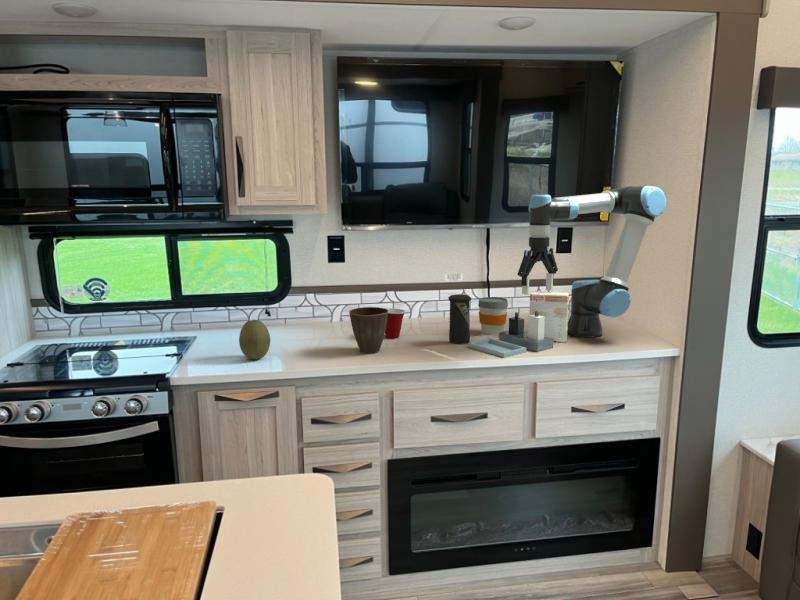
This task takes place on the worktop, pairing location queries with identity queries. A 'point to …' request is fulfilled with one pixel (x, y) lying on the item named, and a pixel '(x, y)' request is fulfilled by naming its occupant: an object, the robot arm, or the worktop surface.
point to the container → (459, 319)
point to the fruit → (254, 339)
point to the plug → (536, 326)
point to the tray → (497, 347)
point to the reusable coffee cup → (492, 314)
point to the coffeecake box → (552, 313)
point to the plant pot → (369, 327)
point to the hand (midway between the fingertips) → (537, 292)
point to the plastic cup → (394, 322)
